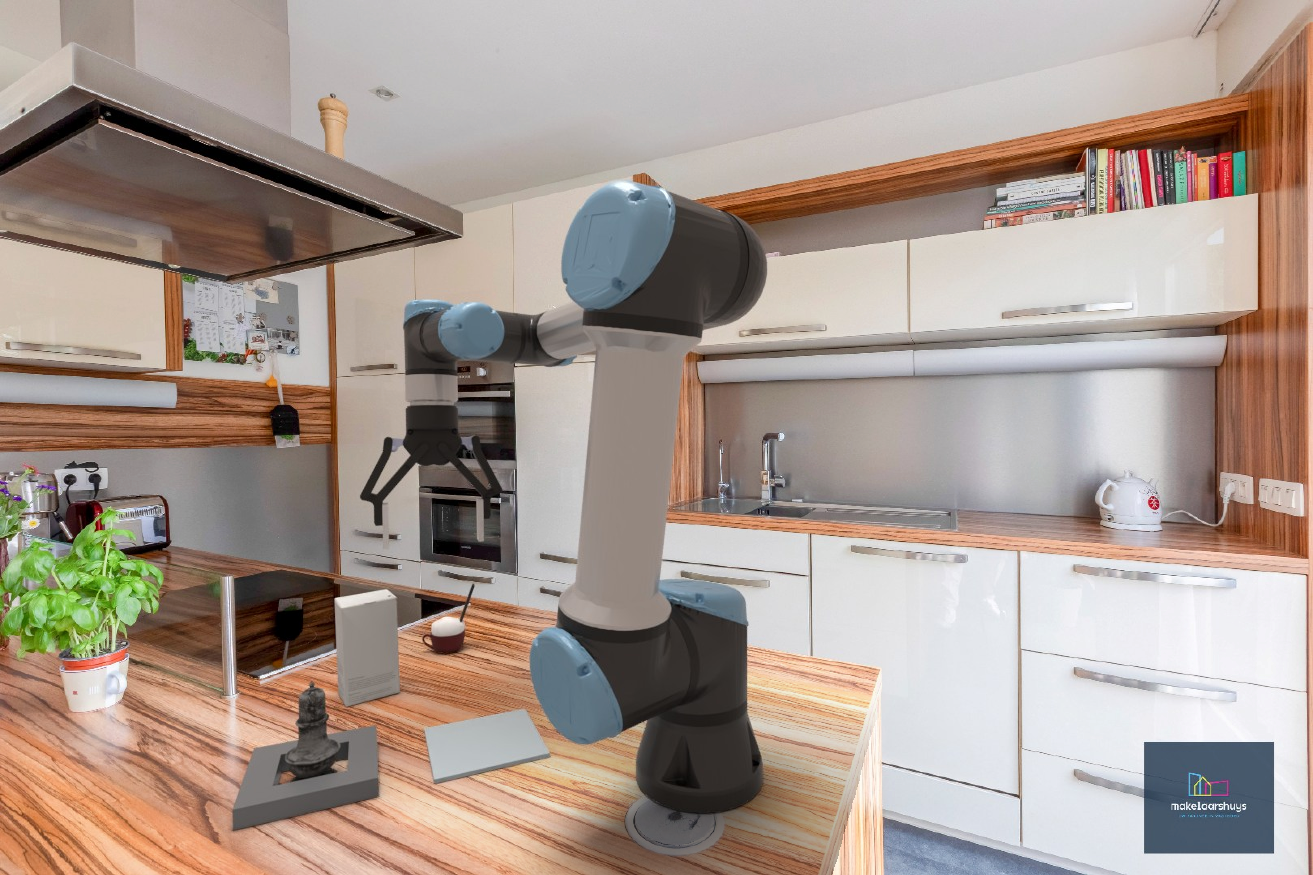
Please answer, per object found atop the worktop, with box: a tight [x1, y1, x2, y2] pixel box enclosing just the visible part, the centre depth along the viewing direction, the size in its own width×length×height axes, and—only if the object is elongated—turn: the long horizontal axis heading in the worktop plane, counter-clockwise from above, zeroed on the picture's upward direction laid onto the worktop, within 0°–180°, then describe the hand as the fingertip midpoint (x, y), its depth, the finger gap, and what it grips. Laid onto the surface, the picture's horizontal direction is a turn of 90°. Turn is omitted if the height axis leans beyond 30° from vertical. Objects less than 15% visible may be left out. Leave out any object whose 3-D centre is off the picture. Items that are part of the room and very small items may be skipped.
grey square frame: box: [231, 724, 380, 831], centre depth 76 cm, size 14×14×2 cm
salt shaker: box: [285, 680, 341, 783], centre depth 75 cm, size 6×6×12 cm
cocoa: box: [421, 583, 475, 654], centre depth 119 cm, size 10×6×12 cm, turn 85°
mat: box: [423, 708, 551, 785], centre depth 84 cm, size 14×14×1 cm
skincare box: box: [334, 589, 401, 708], centre depth 100 cm, size 8×7×16 cm
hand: (434, 543), depth 96 cm, fingers open, 13 cm apart
